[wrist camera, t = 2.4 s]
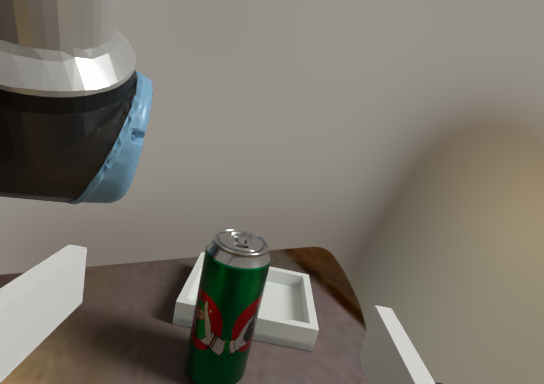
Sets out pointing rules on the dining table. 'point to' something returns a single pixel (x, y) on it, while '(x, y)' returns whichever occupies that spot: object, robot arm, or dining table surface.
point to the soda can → (227, 306)
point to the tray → (267, 308)
